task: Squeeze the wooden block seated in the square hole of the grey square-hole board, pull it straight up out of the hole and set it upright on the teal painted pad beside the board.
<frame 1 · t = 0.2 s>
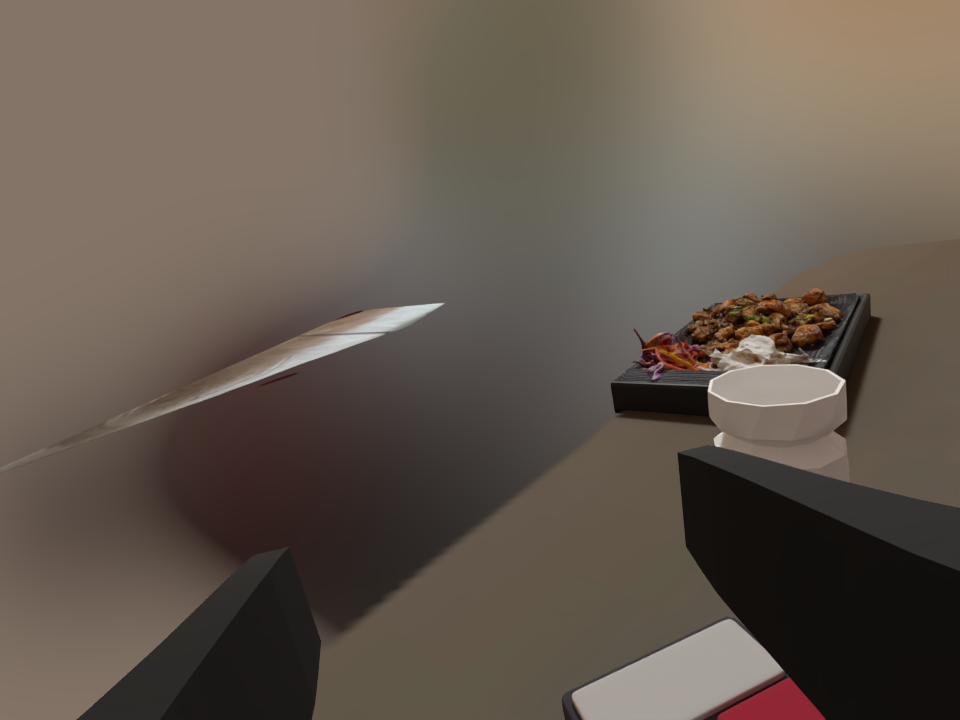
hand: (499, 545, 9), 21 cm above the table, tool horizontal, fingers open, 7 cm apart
food platter: (755, 362, 77), on the table
white jar: (782, 528, 40), on the table
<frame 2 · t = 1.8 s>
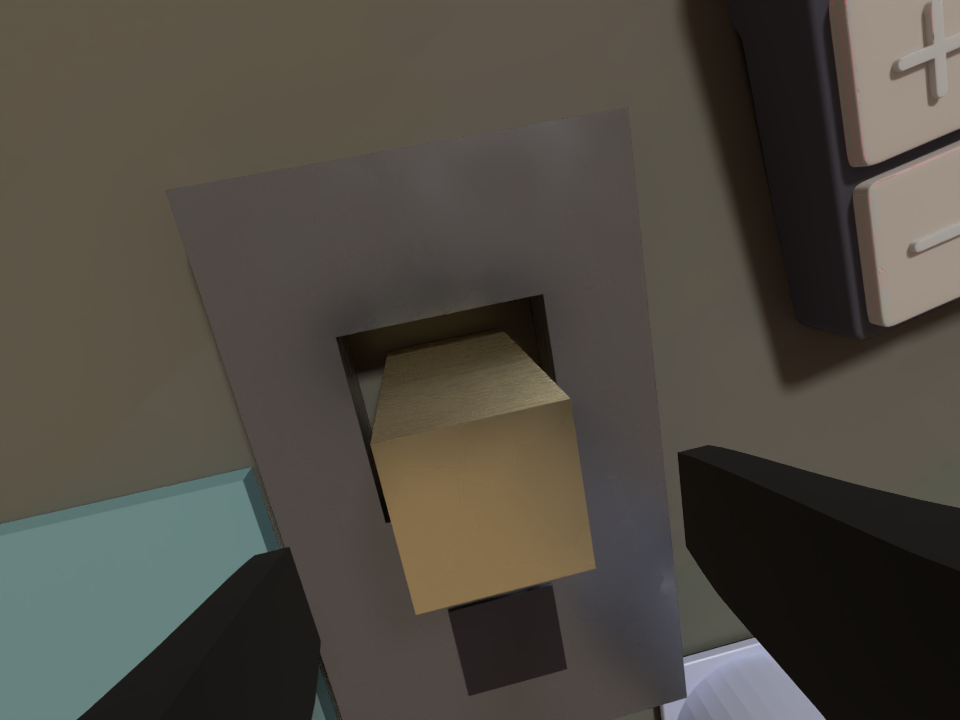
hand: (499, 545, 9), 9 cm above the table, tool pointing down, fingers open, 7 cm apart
wooden block: (455, 393, 18), resting in grey square-hole board
calculator: (884, 76, 18), on the table
grey square-hole board: (471, 468, 19), on the table
pad: (150, 645, 19), on the table
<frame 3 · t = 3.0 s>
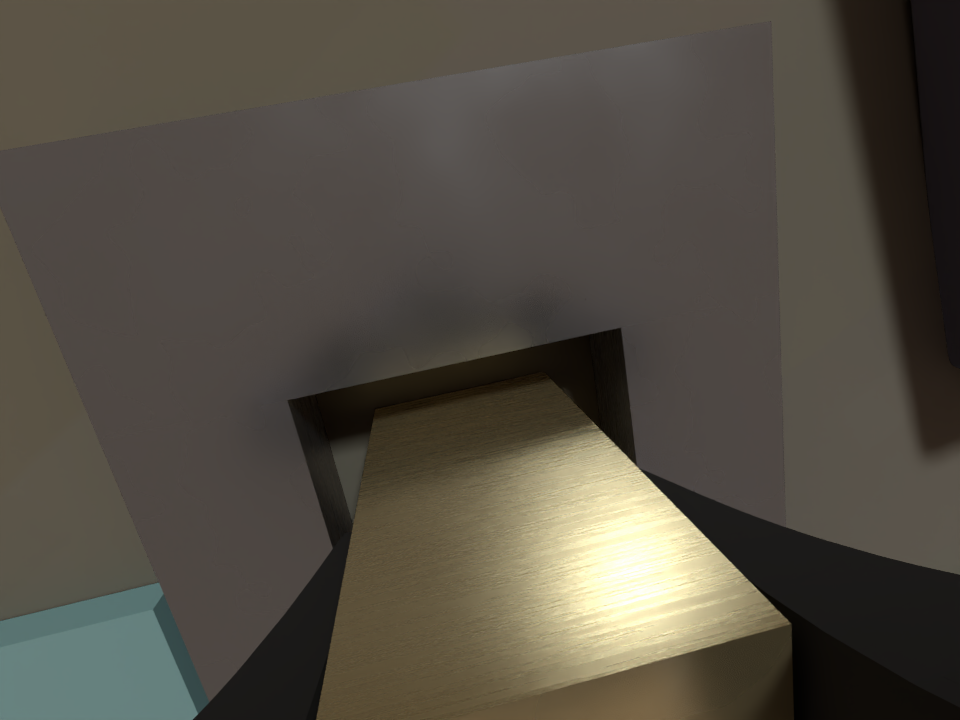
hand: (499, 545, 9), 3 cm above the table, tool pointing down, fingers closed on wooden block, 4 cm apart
wooden block: (476, 466, 12), resting in grey square-hole board, touching gripper
grey square-hole board: (498, 571, 13), on the table
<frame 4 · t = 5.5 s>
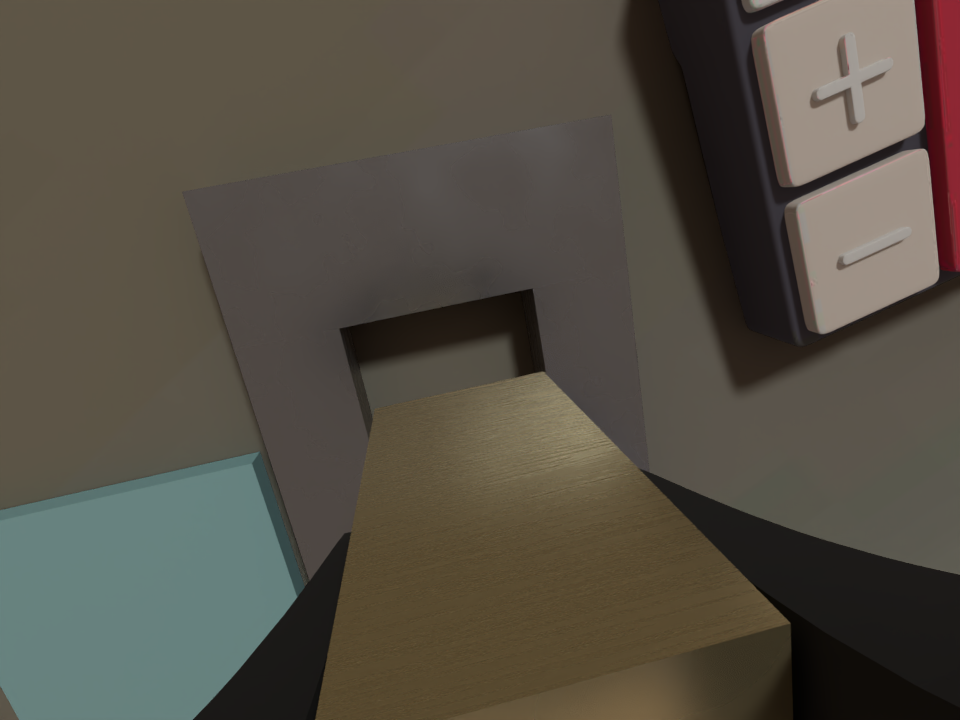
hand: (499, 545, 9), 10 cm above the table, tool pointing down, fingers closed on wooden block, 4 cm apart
wooden block: (476, 466, 12), point 7 cm above the table, touching gripper
calculator: (822, 96, 19), on the table
grey square-hole board: (467, 453, 20), on the table
pad: (164, 620, 20), on the table
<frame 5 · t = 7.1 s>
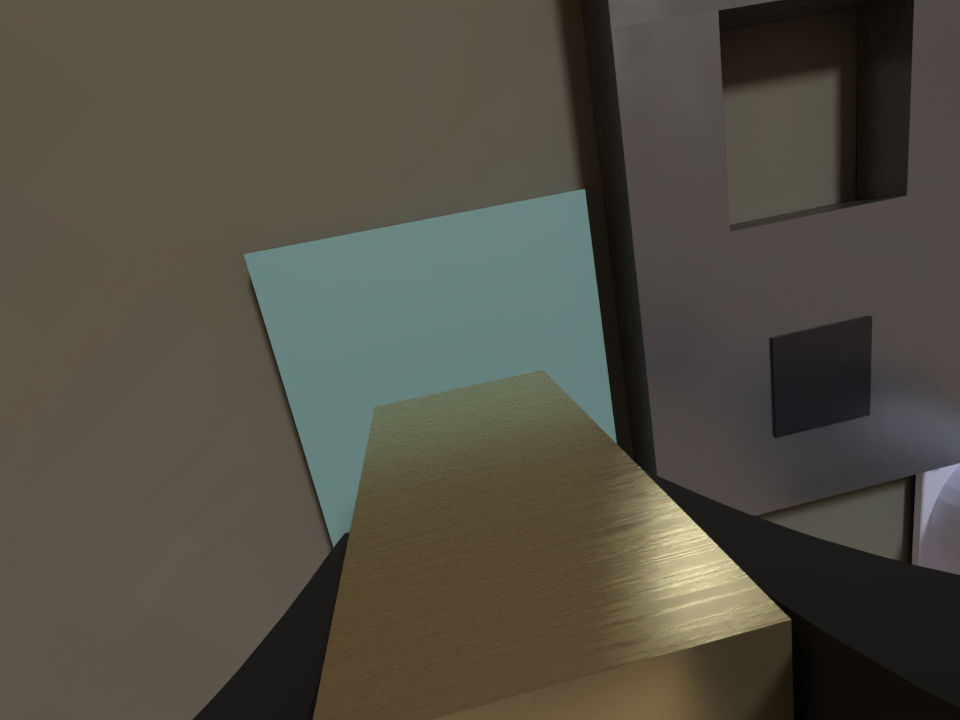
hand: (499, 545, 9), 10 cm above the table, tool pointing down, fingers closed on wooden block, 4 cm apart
wooden block: (475, 465, 12), point 7 cm above the table, touching gripper
grey square-hole board: (777, 210, 19), on the table
pad: (453, 387, 19), on the table
when the fingers open (6 cm above the table, at t = 8.3 s): wooden block drops 1 cm, resting on pad.
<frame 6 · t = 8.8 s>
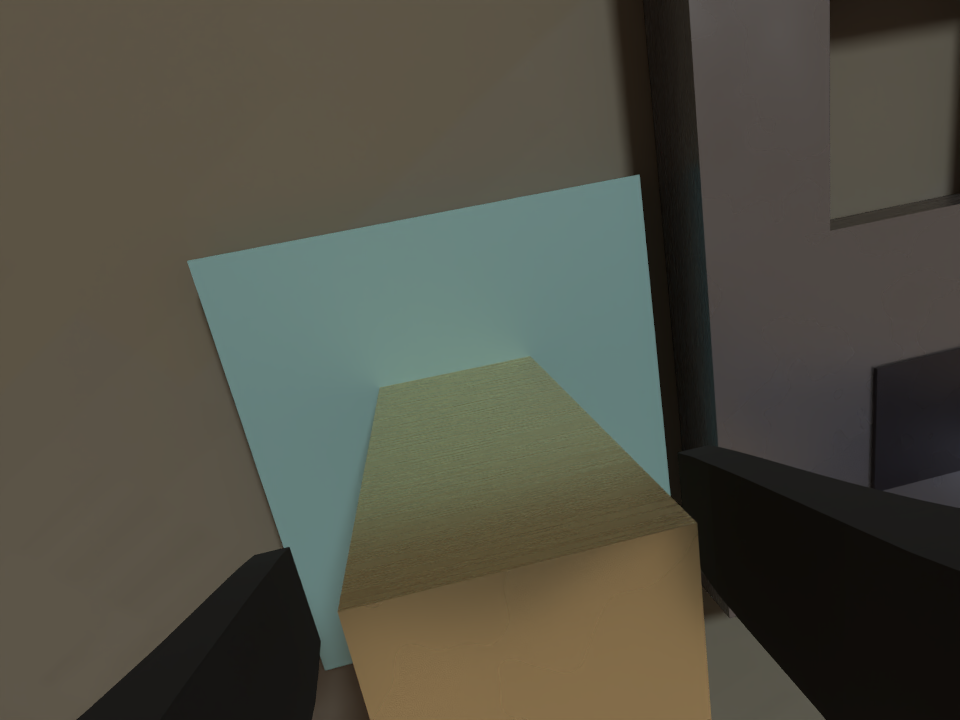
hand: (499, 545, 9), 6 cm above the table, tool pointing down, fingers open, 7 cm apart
wooden block: (469, 441, 14), point 1 cm above the table, touching pad
grey square-hole board: (875, 203, 15), on the table
pad: (465, 428, 15), on the table
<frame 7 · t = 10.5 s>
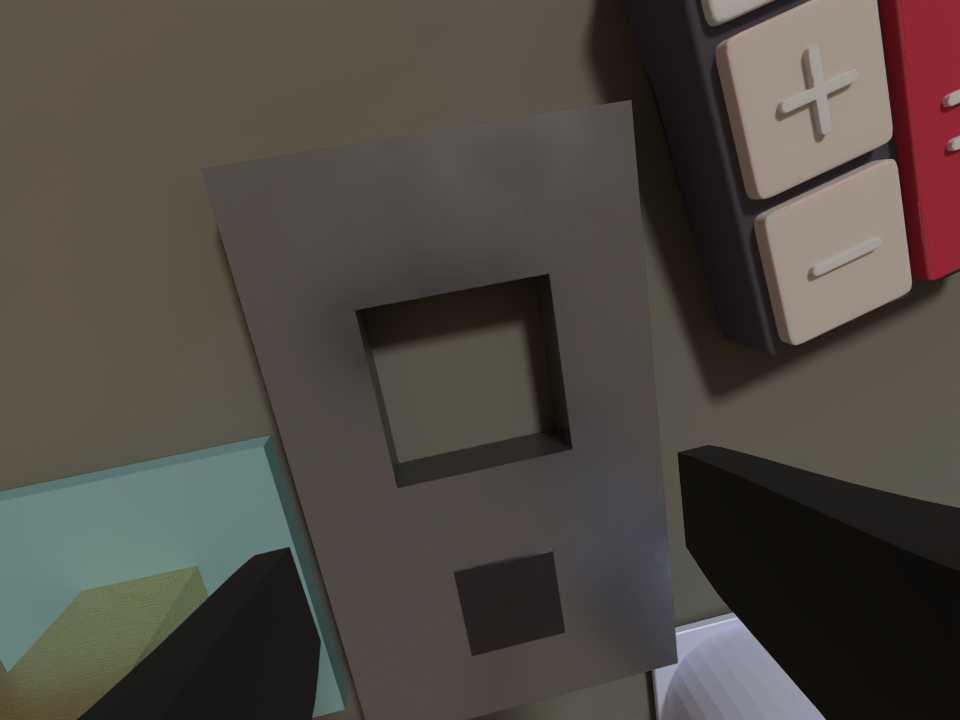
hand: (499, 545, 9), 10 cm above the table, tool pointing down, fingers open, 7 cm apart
wooden block: (158, 623, 19), point 1 cm above the table, touching pad
calculator: (794, 104, 19), on the table
grey square-hole board: (478, 441, 20), on the table
pad: (170, 604, 20), on the table
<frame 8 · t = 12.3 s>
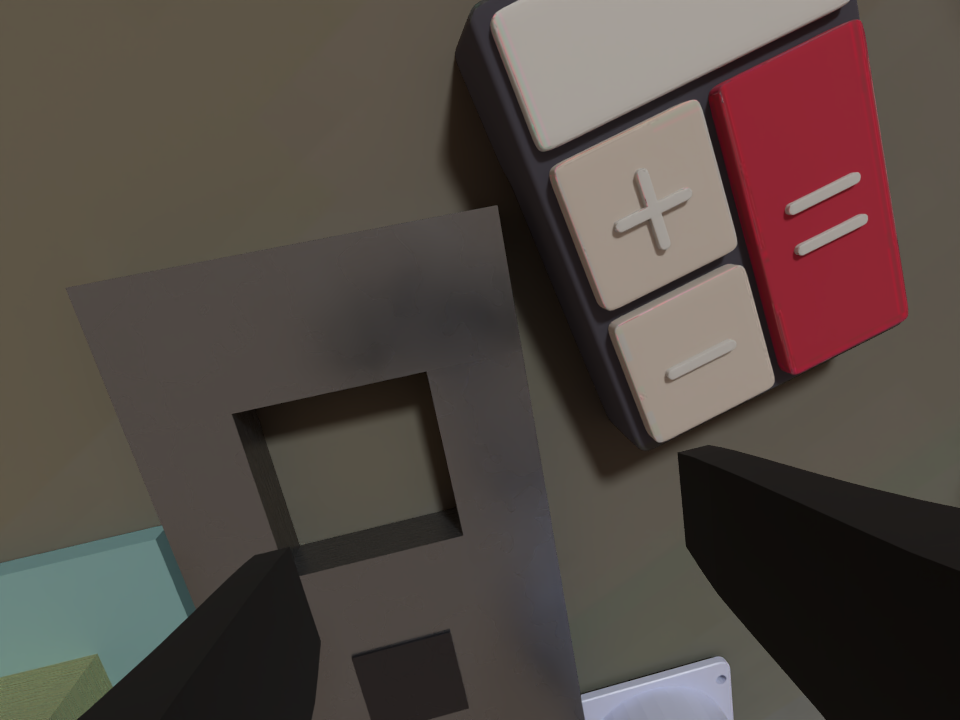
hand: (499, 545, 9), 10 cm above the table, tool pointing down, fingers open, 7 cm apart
wooden block: (62, 709, 19), point 1 cm above the table, touching pad
calculator: (666, 195, 19), on the table
grey square-hole board: (378, 521, 20), on the table
pad: (78, 687, 20), on the table
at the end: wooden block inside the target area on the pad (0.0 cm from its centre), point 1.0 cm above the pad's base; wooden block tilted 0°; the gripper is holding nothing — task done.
